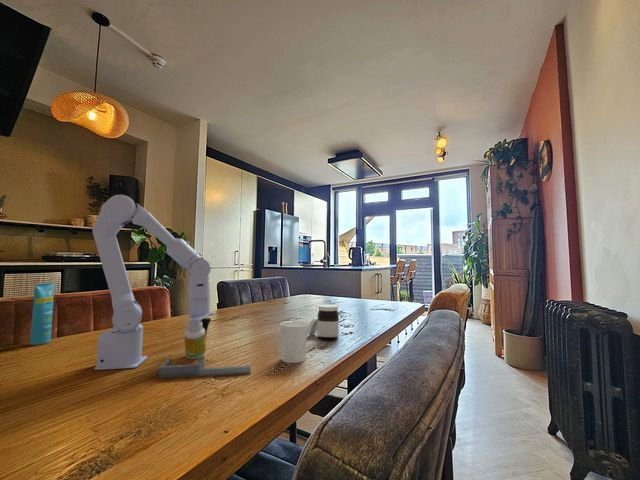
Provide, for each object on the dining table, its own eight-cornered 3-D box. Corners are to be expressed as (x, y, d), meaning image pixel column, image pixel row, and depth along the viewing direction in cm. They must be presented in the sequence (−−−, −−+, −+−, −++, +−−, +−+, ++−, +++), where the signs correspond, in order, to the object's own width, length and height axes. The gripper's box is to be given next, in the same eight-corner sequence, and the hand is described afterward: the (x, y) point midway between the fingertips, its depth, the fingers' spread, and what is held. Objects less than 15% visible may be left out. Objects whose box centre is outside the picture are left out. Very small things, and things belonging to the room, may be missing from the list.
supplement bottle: (196, 361, 82) (195, 330, 79) (181, 355, 84) (179, 325, 81) (209, 351, 87) (209, 321, 84) (195, 345, 88) (194, 316, 86)
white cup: (311, 357, 86) (312, 322, 86) (298, 366, 79) (299, 328, 79) (288, 353, 89) (289, 319, 90) (273, 361, 82) (274, 324, 82)
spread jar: (339, 342, 101) (339, 308, 102) (306, 342, 101) (306, 307, 102) (337, 333, 113) (337, 302, 113) (307, 333, 113) (308, 302, 114)
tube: (41, 346, 92) (45, 283, 93) (22, 346, 91) (27, 283, 92) (56, 339, 99) (60, 281, 100) (39, 340, 98) (44, 281, 99)
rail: (158, 378, 69) (158, 367, 69) (166, 368, 75) (167, 358, 76) (250, 373, 73) (250, 362, 73) (251, 363, 80) (251, 354, 80)
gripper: (209, 302, 82) (211, 351, 81) (216, 294, 96) (218, 336, 95) (182, 303, 80) (183, 354, 80) (193, 295, 94) (194, 338, 94)
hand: (200, 344), depth 88 cm, fingers closed, pressing on supplement bottle
